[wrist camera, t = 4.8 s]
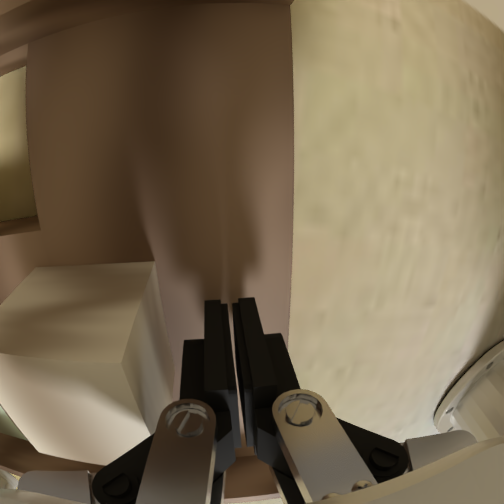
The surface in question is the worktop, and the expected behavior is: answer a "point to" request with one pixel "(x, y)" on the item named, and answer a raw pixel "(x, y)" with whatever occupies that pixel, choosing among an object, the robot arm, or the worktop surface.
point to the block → (86, 359)
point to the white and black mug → (7, 480)
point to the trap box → (158, 167)
